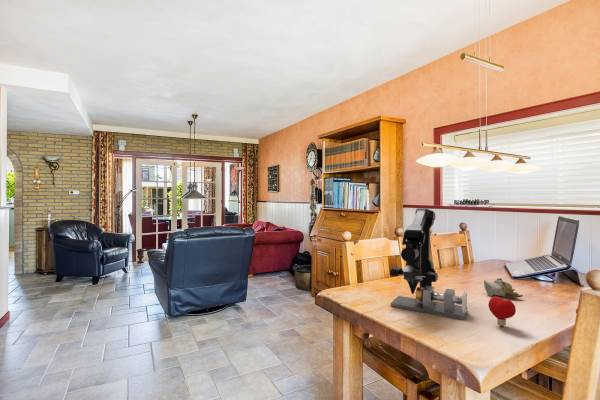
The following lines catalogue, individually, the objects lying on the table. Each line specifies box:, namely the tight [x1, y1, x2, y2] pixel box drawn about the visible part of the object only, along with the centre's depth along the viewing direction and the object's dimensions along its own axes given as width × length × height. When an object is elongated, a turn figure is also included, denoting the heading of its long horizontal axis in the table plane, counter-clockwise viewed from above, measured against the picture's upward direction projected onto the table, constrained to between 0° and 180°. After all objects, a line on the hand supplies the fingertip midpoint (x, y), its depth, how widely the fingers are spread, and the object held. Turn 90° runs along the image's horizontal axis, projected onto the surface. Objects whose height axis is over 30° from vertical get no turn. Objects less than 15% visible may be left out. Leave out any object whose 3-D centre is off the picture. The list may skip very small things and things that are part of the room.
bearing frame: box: [390, 286, 468, 321], centre depth 136 cm, size 12×28×8 cm, turn 58°
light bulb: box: [487, 296, 517, 327], centre depth 118 cm, size 9×7×10 cm
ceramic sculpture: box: [483, 278, 524, 299], centre depth 153 cm, size 11×9×15 cm
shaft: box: [415, 286, 462, 306], centre depth 133 cm, size 6×17×6 cm, turn 58°
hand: (412, 294), depth 139 cm, fingers closed
